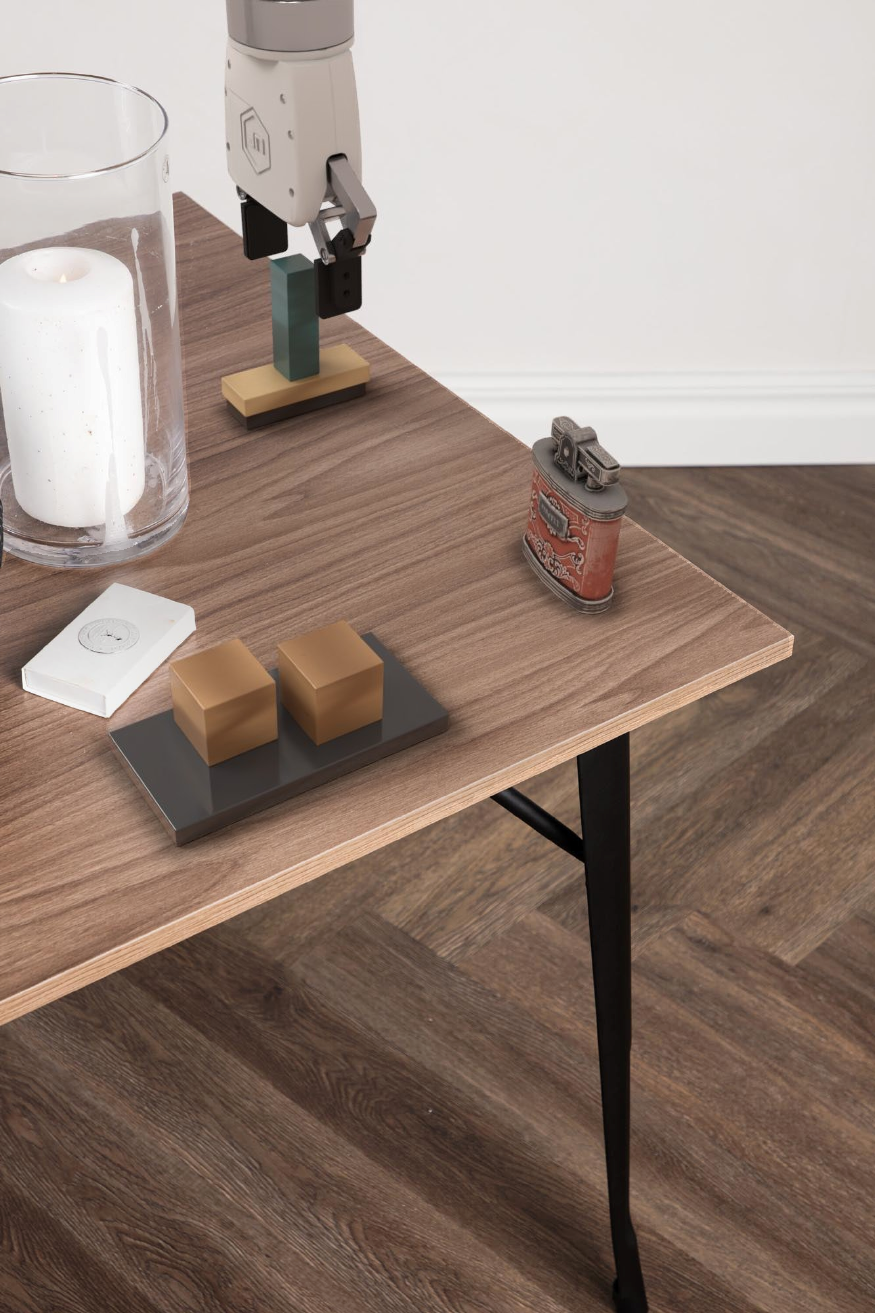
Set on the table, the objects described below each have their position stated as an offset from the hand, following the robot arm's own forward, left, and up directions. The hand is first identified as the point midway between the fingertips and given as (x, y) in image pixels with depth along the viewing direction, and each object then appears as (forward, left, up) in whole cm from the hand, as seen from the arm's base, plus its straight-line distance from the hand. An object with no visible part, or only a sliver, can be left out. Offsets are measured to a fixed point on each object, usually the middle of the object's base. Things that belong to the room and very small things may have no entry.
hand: (301, 282), depth 95 cm
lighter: (+22, -14, -9) cm, 28 cm away
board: (+10, -33, -9) cm, 36 cm away
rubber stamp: (0, 0, -9) cm, 9 cm away
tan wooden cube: (+7, -34, -8) cm, 36 cm away
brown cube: (+12, -31, -8) cm, 34 cm away
